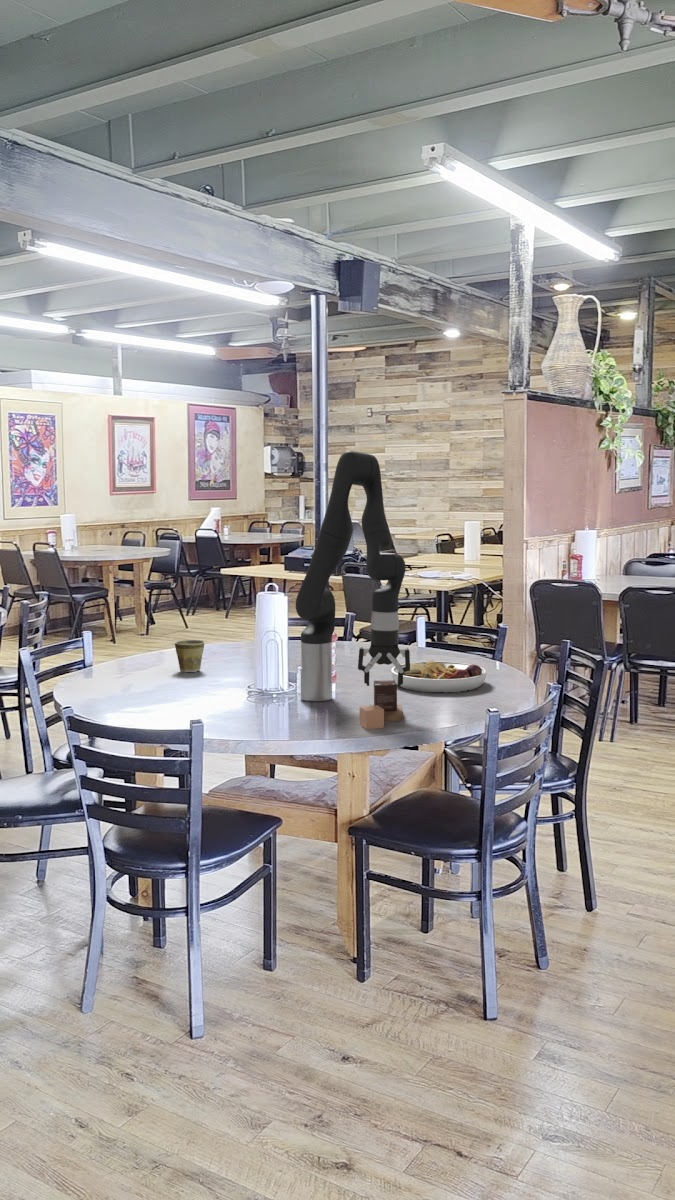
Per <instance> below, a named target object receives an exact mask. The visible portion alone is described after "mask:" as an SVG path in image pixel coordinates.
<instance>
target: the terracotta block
mask: <svg viewBox="0 0 675 1200" xmlns="http://www.w3.org/2000/svg"><path fill="white" fill-rule="evenodd" d="M373 705H374V704H373ZM359 725H360V726H361V727H362V728H363V729H365V730H368V729H370V730H371V729H384V728H385V721H384V709H383V708H381V707H379V706H378V705H374V706H369V705H366V706H365V705H362V706H359Z"/></svg>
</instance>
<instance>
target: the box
mask: <svg viewBox="0 0 675 1200" xmlns="http://www.w3.org/2000/svg"><path fill="white" fill-rule="evenodd" d="M373 705H378V706H379V707H381V708H383V709H384V711H387V710H397V705H398V684H396V682H395V680H393V679H391V680H389V679H388V680H374V681H373Z"/></svg>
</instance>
